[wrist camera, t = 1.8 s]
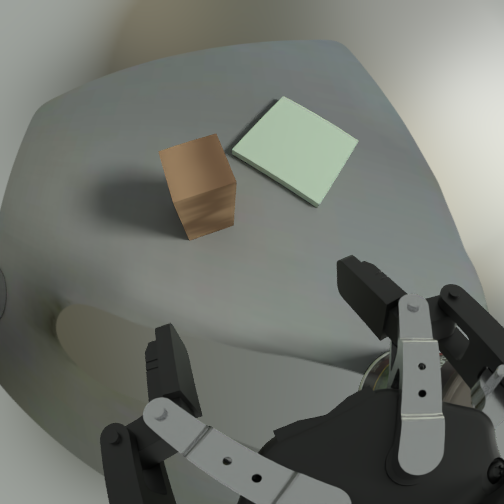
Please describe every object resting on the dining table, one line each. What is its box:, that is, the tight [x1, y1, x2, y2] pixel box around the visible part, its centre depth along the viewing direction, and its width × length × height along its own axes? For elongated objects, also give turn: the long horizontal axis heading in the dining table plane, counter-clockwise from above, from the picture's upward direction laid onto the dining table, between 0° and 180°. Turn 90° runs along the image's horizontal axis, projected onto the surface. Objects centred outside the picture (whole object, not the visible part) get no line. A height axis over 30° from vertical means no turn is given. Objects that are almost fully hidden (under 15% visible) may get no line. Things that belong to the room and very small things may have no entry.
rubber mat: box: [232, 96, 358, 208], centre depth 34 cm, size 12×12×1 cm
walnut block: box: [159, 134, 236, 240], centre depth 26 cm, size 5×5×10 cm
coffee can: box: [358, 351, 474, 408], centre depth 21 cm, size 10×10×14 cm
